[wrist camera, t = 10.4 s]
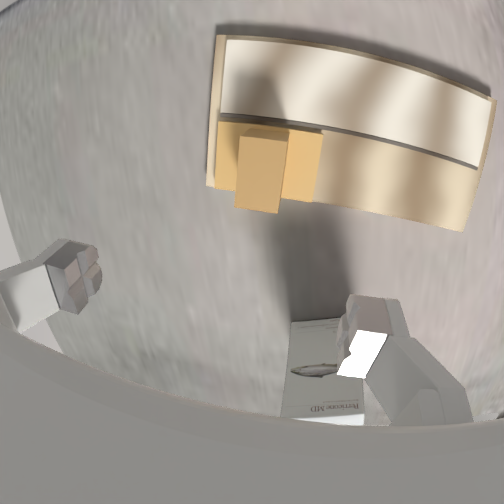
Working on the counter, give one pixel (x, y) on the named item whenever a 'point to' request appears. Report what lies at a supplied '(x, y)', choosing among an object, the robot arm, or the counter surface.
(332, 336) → the supplement box
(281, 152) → the stepped wooden block
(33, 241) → the counter surface
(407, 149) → the board
